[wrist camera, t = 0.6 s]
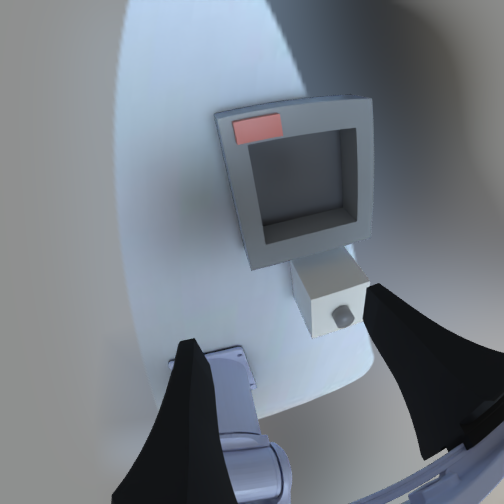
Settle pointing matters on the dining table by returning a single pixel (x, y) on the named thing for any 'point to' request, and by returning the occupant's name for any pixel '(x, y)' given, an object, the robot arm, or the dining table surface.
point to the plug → (329, 290)
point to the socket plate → (300, 175)
